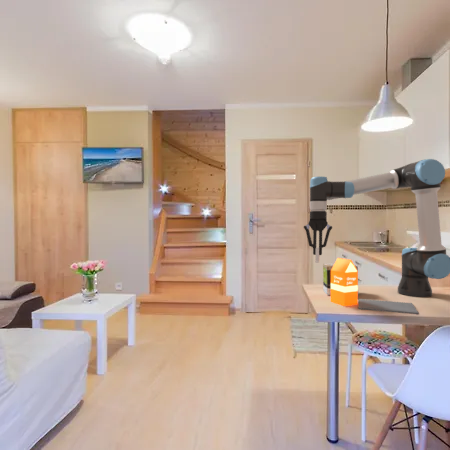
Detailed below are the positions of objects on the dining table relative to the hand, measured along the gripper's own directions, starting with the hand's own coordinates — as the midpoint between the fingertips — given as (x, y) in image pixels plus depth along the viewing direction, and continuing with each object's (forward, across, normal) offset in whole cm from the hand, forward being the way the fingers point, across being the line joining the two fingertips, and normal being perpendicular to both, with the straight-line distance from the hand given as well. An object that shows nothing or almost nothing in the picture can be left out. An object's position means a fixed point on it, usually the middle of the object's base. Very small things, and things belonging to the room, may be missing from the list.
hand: (317, 262), depth 155 cm
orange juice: (+18, -12, 0) cm, 22 cm away
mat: (+18, -29, 0) cm, 34 cm away
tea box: (+18, -9, -19) cm, 28 cm away
